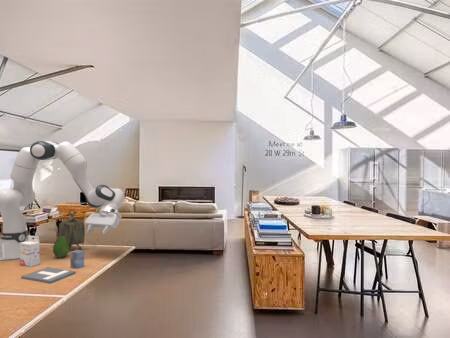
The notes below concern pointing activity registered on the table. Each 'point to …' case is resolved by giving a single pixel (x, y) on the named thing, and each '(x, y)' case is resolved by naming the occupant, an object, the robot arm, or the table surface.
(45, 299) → the table surface
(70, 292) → the table surface
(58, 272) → the letter board
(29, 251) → the ink cartridge box
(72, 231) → the olive bag
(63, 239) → the fruit
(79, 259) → the slate-blue block
